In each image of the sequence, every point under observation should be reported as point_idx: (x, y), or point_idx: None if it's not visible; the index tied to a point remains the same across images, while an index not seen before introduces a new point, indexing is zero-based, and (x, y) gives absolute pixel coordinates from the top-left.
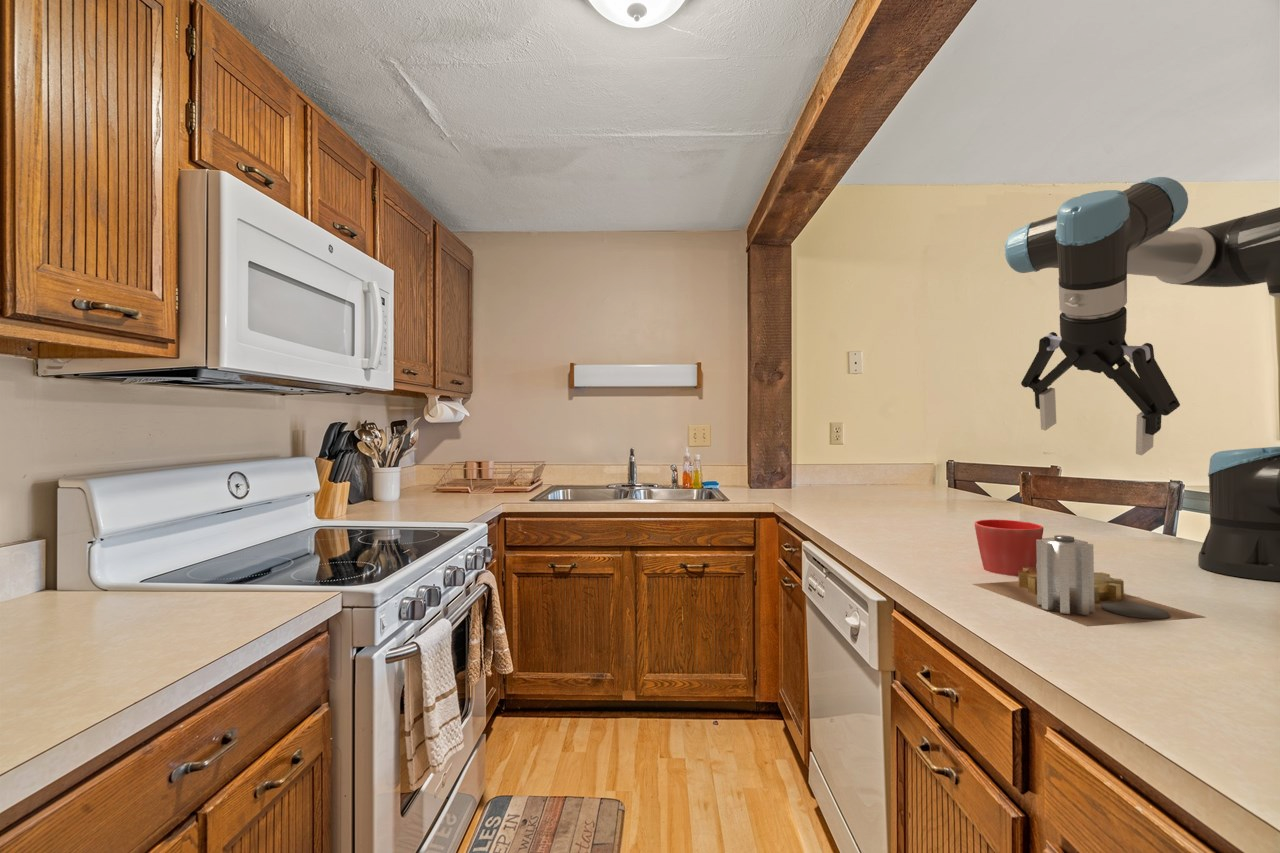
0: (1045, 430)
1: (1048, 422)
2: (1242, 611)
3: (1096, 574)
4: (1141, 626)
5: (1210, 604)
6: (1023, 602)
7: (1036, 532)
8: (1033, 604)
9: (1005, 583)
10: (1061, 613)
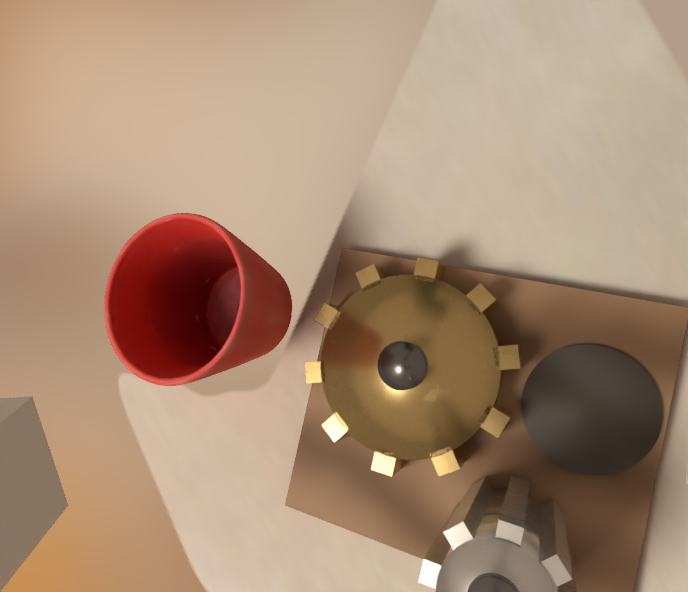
0: (66, 504)
1: (25, 514)
2: (652, 122)
3: (425, 291)
4: None
5: (585, 130)
6: None
7: (249, 294)
8: None
9: (313, 432)
10: None
